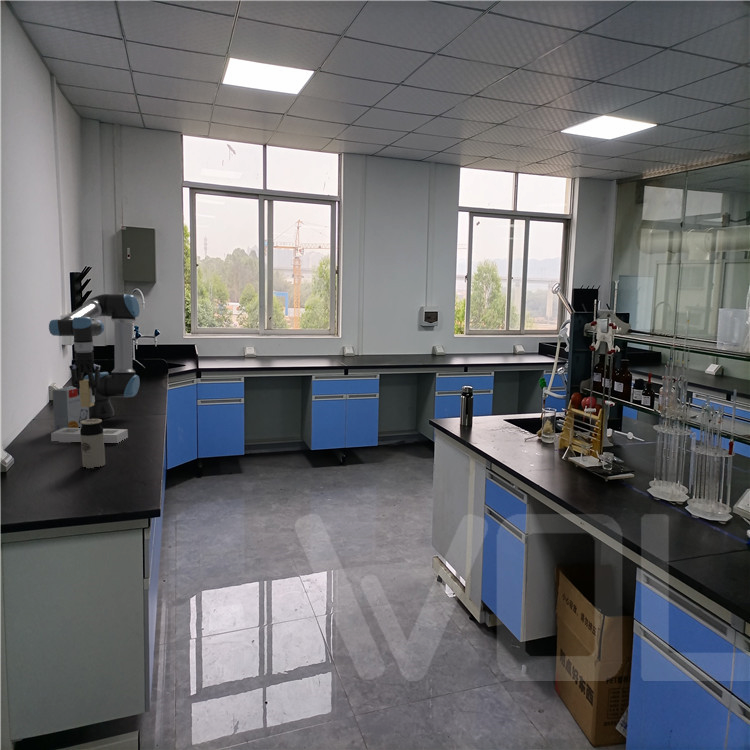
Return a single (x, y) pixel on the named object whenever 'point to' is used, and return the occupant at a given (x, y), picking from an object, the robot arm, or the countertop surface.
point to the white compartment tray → (75, 436)
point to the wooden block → (85, 393)
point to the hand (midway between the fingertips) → (87, 402)
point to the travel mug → (92, 443)
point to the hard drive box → (68, 408)
